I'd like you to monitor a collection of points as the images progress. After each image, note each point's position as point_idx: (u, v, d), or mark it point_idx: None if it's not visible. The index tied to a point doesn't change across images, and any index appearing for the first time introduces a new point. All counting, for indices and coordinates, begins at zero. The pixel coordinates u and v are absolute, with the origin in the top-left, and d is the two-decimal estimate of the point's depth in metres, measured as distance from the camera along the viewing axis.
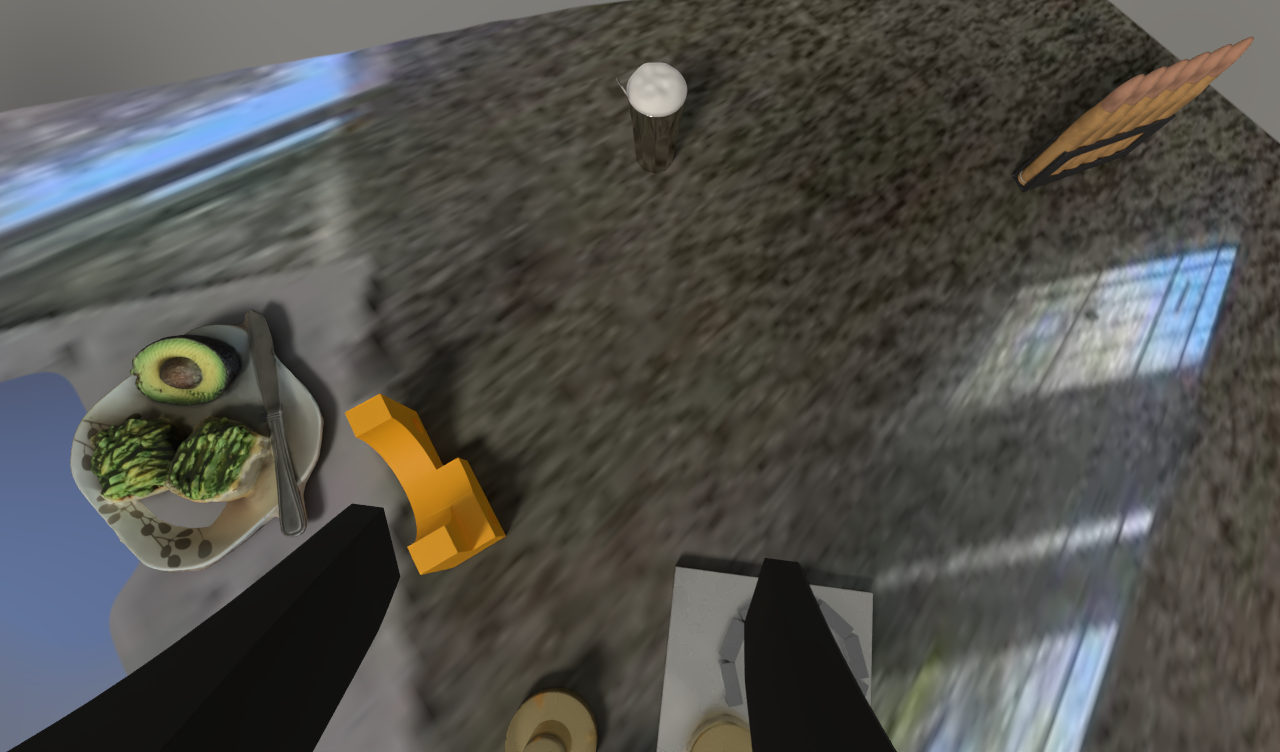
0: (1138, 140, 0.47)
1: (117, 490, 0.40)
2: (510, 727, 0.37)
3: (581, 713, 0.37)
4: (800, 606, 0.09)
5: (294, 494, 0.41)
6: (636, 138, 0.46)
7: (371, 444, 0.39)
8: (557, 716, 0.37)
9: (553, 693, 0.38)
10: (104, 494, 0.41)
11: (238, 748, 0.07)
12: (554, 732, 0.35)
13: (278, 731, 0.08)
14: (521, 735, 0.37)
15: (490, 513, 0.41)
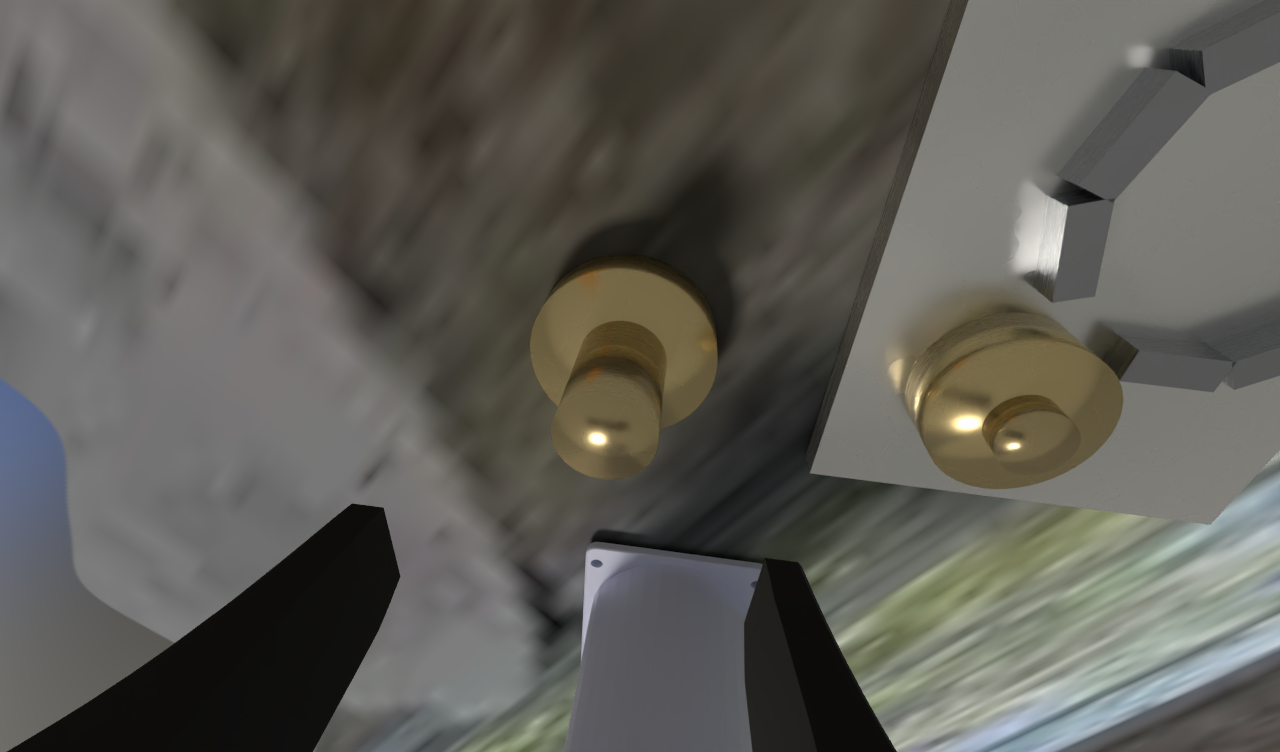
0: None
1: None
2: (535, 333, 0.18)
3: (685, 310, 0.17)
4: (800, 606, 0.09)
5: None
6: None
7: None
8: (633, 315, 0.17)
9: (618, 271, 0.16)
10: None
11: (238, 748, 0.07)
12: (629, 357, 0.15)
13: (278, 731, 0.08)
14: (560, 346, 0.18)
15: None
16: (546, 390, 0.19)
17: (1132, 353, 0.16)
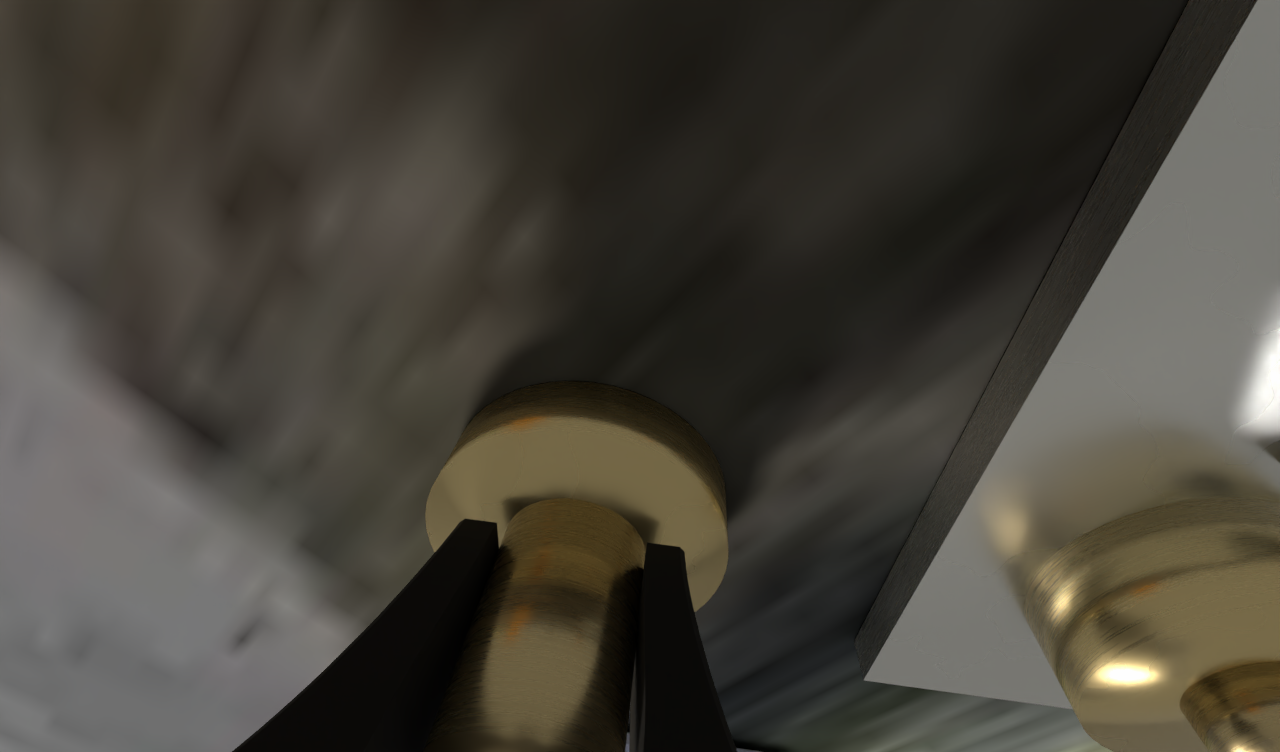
0: None
1: None
2: (432, 509, 0.11)
3: (674, 488, 0.10)
4: (668, 588, 0.09)
5: None
6: None
7: None
8: (587, 492, 0.10)
9: (560, 429, 0.10)
10: None
11: None
12: (573, 600, 0.09)
13: None
14: None
15: None
16: None
17: None
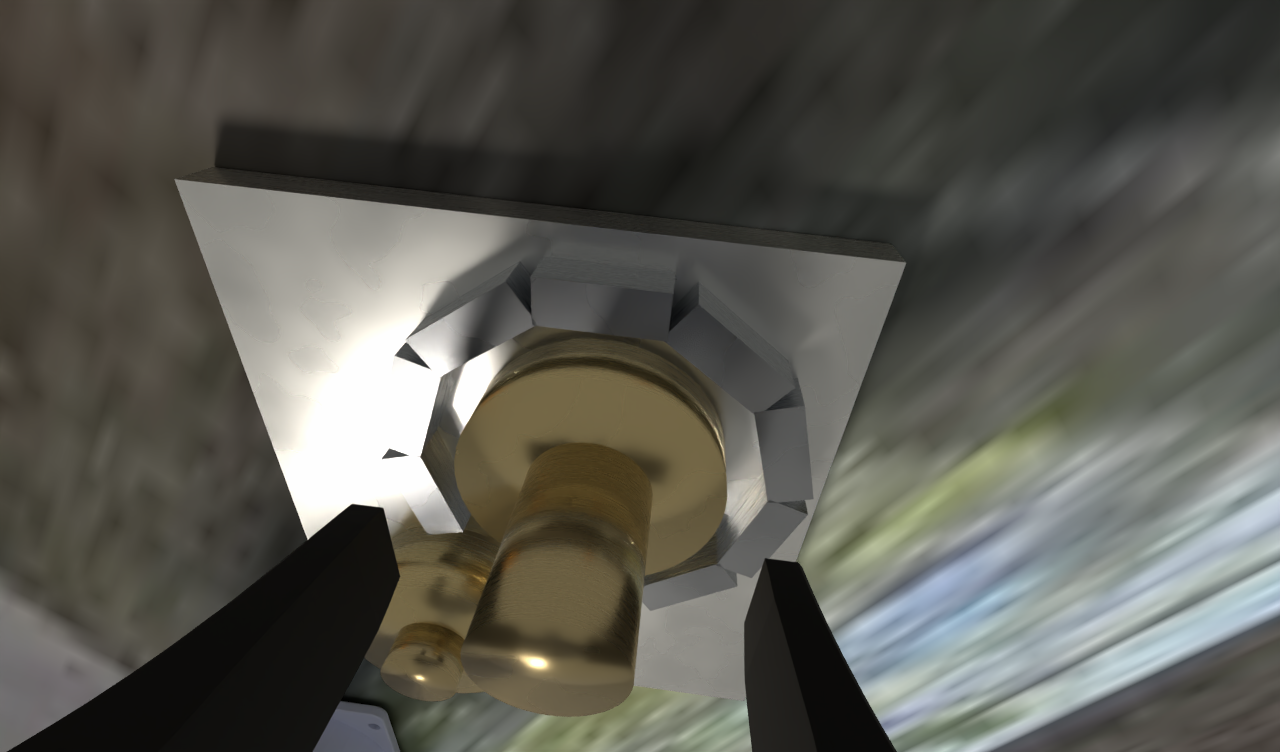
0: None
1: None
2: (469, 430, 0.12)
3: (698, 455, 0.11)
4: (800, 606, 0.09)
5: None
6: None
7: None
8: (621, 442, 0.11)
9: (619, 383, 0.11)
10: None
11: (238, 748, 0.07)
12: (609, 529, 0.10)
13: (278, 731, 0.08)
14: (503, 455, 0.12)
15: None
16: (466, 502, 0.13)
17: None
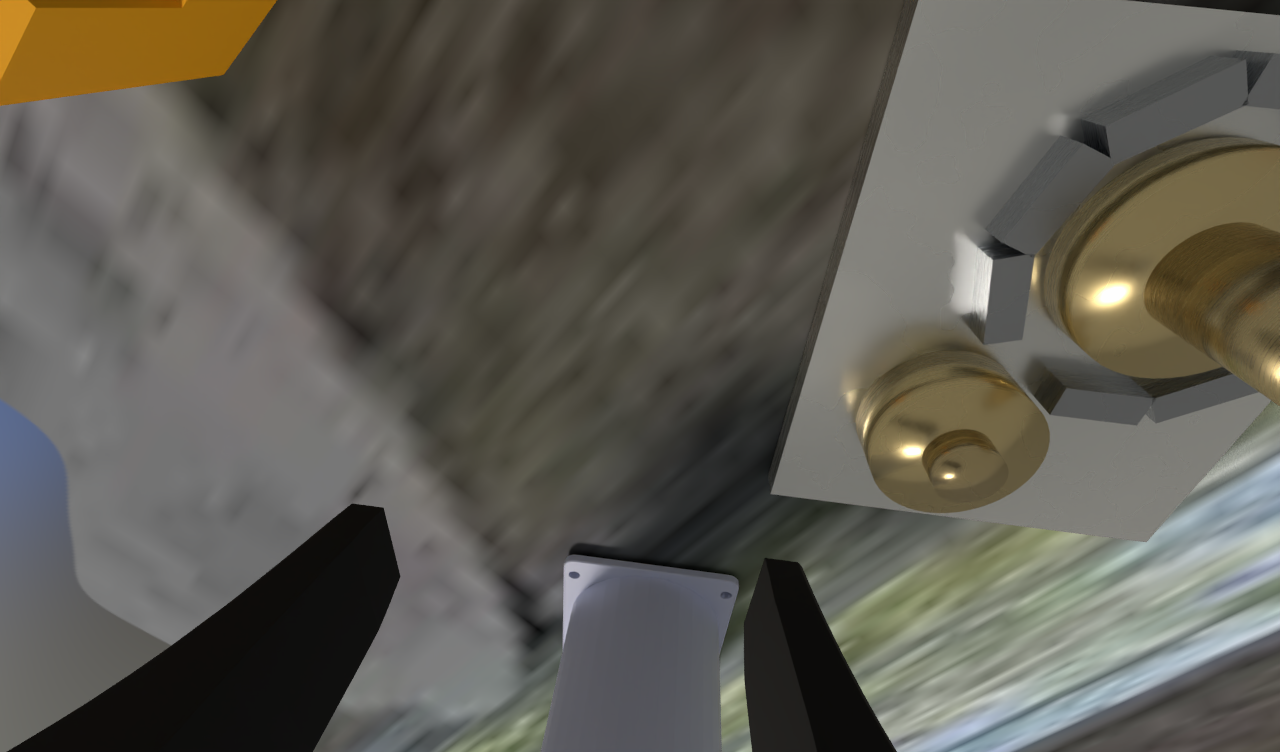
0: None
1: None
2: (1134, 213, 0.13)
3: None
4: (800, 606, 0.09)
5: None
6: None
7: None
8: (1279, 221, 0.13)
9: None
10: None
11: (238, 748, 0.07)
12: None
13: (278, 731, 0.08)
14: (1151, 240, 0.14)
15: None
16: (1077, 295, 0.14)
17: (1060, 390, 0.17)
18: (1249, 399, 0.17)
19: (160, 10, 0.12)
